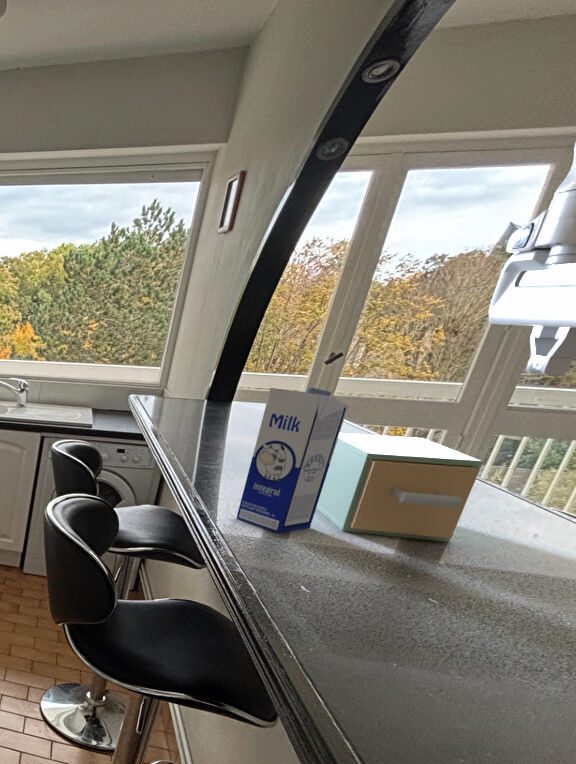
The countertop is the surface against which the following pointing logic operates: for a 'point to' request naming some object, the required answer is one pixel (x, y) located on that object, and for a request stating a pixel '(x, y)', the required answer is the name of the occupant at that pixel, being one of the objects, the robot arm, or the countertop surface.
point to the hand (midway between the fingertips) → (544, 374)
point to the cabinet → (354, 464)
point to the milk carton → (291, 459)
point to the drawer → (413, 498)
